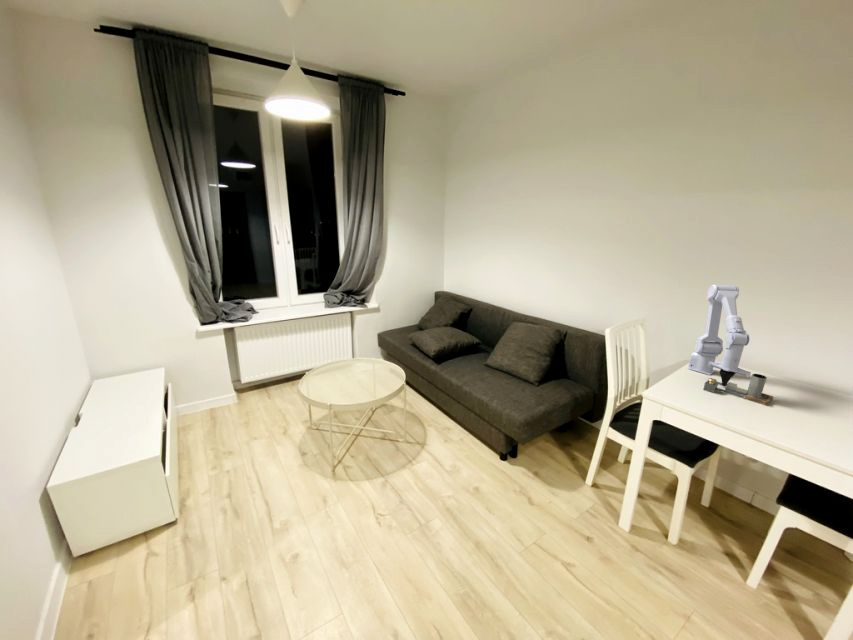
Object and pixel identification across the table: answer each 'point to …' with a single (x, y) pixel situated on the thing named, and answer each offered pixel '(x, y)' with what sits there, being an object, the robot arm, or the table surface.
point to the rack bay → (759, 399)
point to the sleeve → (728, 391)
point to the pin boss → (710, 387)
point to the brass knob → (712, 381)
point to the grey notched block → (735, 389)
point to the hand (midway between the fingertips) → (724, 385)
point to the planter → (756, 385)
